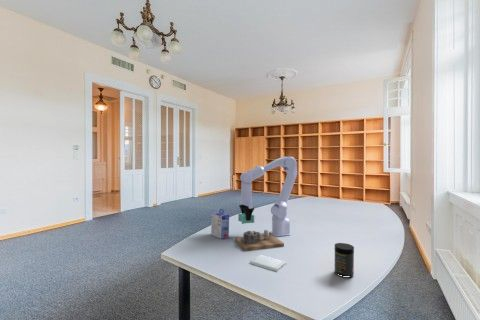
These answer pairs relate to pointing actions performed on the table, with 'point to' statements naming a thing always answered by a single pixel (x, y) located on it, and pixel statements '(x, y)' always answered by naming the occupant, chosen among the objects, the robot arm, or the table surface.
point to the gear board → (258, 241)
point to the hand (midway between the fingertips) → (246, 219)
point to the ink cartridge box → (220, 225)
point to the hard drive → (268, 262)
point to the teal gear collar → (243, 218)
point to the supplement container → (344, 259)
